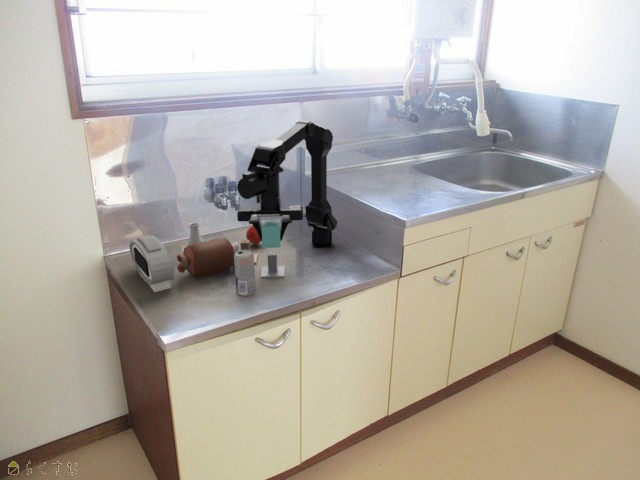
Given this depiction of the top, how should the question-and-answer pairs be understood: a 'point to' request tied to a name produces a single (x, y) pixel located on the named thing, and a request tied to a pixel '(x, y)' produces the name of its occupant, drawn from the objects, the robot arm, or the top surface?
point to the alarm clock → (152, 262)
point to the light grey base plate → (272, 267)
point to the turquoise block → (271, 234)
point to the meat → (207, 257)
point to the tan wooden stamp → (246, 246)
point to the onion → (253, 236)
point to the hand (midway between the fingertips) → (271, 240)
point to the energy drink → (244, 272)
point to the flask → (194, 234)
